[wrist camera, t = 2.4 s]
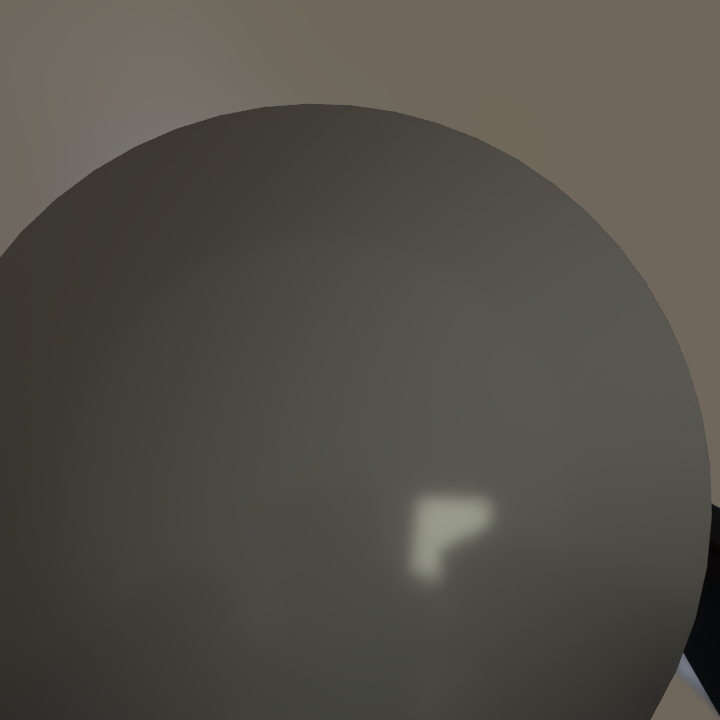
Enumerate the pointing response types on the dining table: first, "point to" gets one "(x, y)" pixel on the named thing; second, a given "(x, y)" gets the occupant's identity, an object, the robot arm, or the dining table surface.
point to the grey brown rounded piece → (339, 438)
